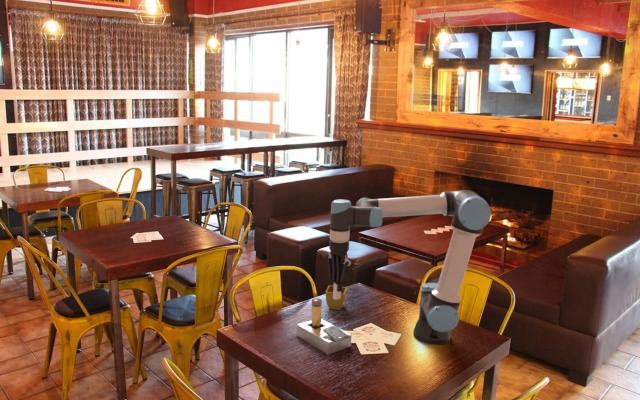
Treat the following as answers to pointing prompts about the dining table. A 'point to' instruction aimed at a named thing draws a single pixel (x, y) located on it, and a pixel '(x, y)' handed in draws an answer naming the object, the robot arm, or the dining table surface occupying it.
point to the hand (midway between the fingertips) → (336, 298)
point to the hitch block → (321, 337)
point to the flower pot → (332, 302)
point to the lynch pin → (316, 313)
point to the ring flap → (335, 333)
